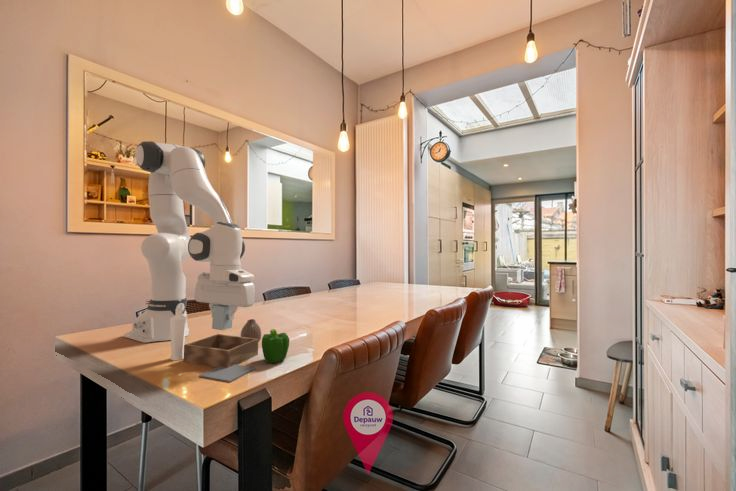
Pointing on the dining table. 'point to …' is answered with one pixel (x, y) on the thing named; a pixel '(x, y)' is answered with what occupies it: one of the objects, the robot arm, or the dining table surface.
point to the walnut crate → (220, 350)
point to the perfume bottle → (177, 335)
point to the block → (221, 317)
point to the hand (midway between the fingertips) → (222, 318)
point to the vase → (251, 330)
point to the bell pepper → (275, 346)
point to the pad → (227, 373)
